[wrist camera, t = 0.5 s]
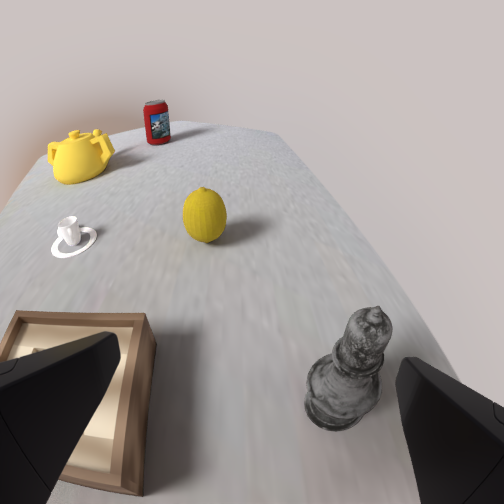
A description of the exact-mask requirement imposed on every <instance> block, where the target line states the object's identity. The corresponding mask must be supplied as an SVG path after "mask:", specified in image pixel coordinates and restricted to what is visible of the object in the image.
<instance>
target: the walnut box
mask: <svg viewBox="0 0 504 504" xmlns="http://www.w3.org/2000/svg"><path fill="white" fill-rule="evenodd" d="M103 331H108V332H113V333H115V334H116V335H117V337H118V342H119V347H120V353H121V359H120V363H119V365H118V367H117V369H116V371H115V374H114V376H113V378H112V380H111V383H110V385H109V387H108V389H107V392H106V394H105V396H104V397H103V399H102V401H101V403H100V405H99V406H98V408H97V410H96V412H95V413H94V415H93V417H92V418H91V420H90V422H89V424H88V426H87V427H86V429H85V431H84V433H83V434H82V436H81V438H80V440H79V442H78V443H77V445H76V447H75V449H74V451H73V453H72V454H71V456H70V458H69V460H68V462H67V464H66V466H65V468H64V469H63V471H62V473H61V475H60V477H59V479H58V480H61V481H65V482H69V483H73V484H76V485H81V486H85V487H89V488H94V489H98V490H103V491H109V492H114V493H120V494H126V495H133V496H140V497H143V477H144V459H145V444H146V432H147V420H148V410H149V400H150V391H151V383H152V375H153V367H154V359H155V352H156V345H157V344H156V341H155V338H154V336H153V333H152V331H151V328H150V325H149V322H148V320H147V317H146V314H145V313H70V312H39V311H18V310H16V312H15V314H14V316H13V318H12V320H11V322H10V324H9V326H8V328H7V330H6V332H5V334H4V337H3V339H2V341H1V343H0V362H4V361H8V360H11V359H15V358H20V357H22V356H25V355H28V354H32V353H35V352H38V351H42V350H45V349H48V348H52V347H55V346H58V345H61V344H65V343H68V342H71V341H74V340H78V339H81V338H84V337H87V336H90V335H94V334H97V333H100V332H103Z"/></svg>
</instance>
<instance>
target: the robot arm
mask: <svg viewBox="0 0 504 504" xmlns="http://www.w3.org/2000/svg"><path fill="white" fill-rule="evenodd" d="M120 359H121V353H120V347H119V342H118V337H117V335H116V334H115V333H113V332H108V331H103V332H100V333H97V334H94V335H90V336H87V337H84V338H81V339H78V340H74V341H71V342H68V343H65V344H61V345H58V346H55V347H52V348H48V349H45V350H42V351H38V352H35V353H32V354H28V355H25V356H22V357H20V358H15V359H11V360H8V361H4V362H0V504H46V503H47V501H48V499H49V497H50V495H51V492H52V491H53V489H54V487H55V485H56V483H57V481H58V479H59V477H60V475H61V473H62V471H63V469H64V468H65V466H66V464H67V462H68V460H69V458H70V456H71V454H72V453H73V451H74V449H75V447H76V445H77V443H78V442H79V440H80V438H81V436H82V434H83V433H84V431H85V429H86V427H87V426H88V424H89V422H90V420H91V418H92V417H93V415H94V413H95V412H96V410H97V408H98V406H99V405H100V403H101V401H102V399H103V397H104V396H105V394H106V392H107V389H108V387H109V385H110V383H111V380H112V378H113V376H114V374H115V371H116V369H117V367H118V365H119V363H120ZM396 391H397V397H398V403H399V409H400V415H401V421H402V426H403V430H404V434H405V438H406V441H407V445H408V449H409V453H410V457H411V461H412V465H413V469H414V474H415V478H416V483H417V487H418V492H419V497H420V502H421V504H504V407H502V406H500V405H498V404H497V403H495V402H494V403H493V401H491V400H490V399H488V398H486V397H484V396H483V395H481V394H479V393H477V392H476V391H474V390H472V389H471V388H469V387H467V386H465V385H464V384H462V383H460V382H458V381H457V380H455V379H453V378H452V377H450V376H448V375H446V374H445V373H443V372H441V371H439V370H438V369H436V368H434V367H433V366H431V365H429V364H427V363H426V362H424V361H422V360H421V359H419V358H417V357H405V358H403V360H402V362H401V365H400V368H399V371H398V374H397V377H396Z"/></svg>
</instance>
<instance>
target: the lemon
mask: <svg viewBox="0 0 504 504" xmlns="http://www.w3.org/2000/svg"><path fill="white" fill-rule="evenodd" d="M226 219H227V214H226V208H225V205H224V202H223V200H222V198H221V197H220V195H219V194H217V193H216V192H215V191H213V190H211V189H206V188H205V187H200V188H199V189H198V190H195V191H193V192H192V193H191V194H190V195H189V196H188V197H187V199H186V200H185V203H184V208H183V222H184V225H185V228H186V230H187V232H188V234H189V235H190V236H191V237H192V238H194V239H195V240H197V241H200V242H205V243H209V242H210V241H213V240H215V239H217V238H218V237H219V236H220V235H221V234H222V232H223V231H224V229H225V226H226Z"/></svg>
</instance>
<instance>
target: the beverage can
mask: <svg viewBox="0 0 504 504" xmlns="http://www.w3.org/2000/svg"><path fill="white" fill-rule="evenodd" d="M143 111H144V121H145V129H146V137H147V142H148V143H149V144H151V145H161V144H165V143H167V142H168V141H169V140H170V139H171V136H170V125H169V116H168V115H169V114H168V105H167V104H166V103H165V100H156V101H150V102H147V103H145V107H144V110H143Z"/></svg>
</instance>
